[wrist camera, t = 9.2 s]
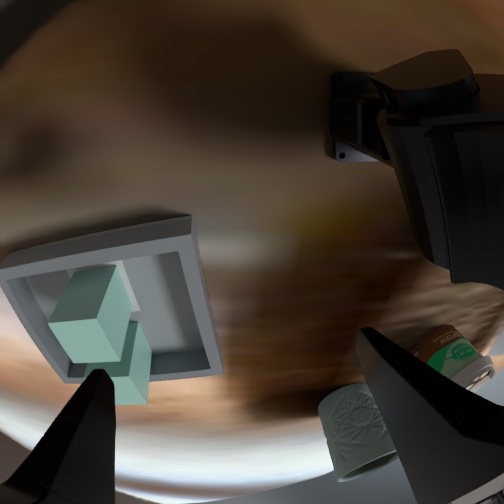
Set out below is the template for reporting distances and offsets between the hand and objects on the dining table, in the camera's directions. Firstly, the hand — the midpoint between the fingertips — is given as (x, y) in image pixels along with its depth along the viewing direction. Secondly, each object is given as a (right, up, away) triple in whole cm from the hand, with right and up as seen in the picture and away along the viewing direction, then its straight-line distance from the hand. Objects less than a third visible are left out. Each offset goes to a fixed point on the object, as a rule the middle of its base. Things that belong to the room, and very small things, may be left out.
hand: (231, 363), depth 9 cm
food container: (+26, -8, +25) cm, 37 cm away
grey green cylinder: (+14, -18, +28) cm, 36 cm away
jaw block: (-11, +1, +12) cm, 17 cm away
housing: (-11, -1, +14) cm, 18 cm away
